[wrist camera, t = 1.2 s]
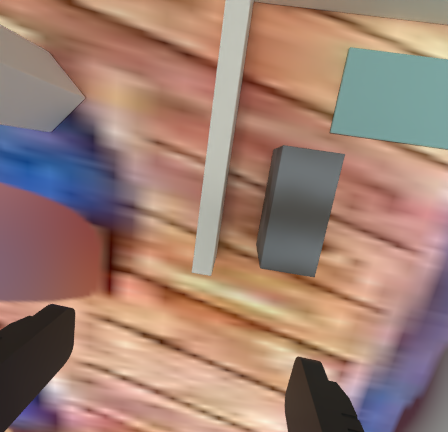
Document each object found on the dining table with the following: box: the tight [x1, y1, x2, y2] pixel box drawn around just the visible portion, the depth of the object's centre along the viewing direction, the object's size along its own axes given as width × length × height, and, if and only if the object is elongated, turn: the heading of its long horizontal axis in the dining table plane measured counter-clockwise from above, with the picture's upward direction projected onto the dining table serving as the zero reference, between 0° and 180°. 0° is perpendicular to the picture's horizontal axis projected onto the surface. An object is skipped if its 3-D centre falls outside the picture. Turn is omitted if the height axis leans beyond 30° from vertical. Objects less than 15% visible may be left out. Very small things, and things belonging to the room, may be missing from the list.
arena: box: [192, 0, 448, 276], centre depth 24 cm, size 29×30×5 cm
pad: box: [330, 47, 448, 149], centre depth 25 cm, size 8×14×1 cm, turn 82°
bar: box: [256, 145, 345, 277], centre depth 25 cm, size 11×5×7 cm, turn 172°
